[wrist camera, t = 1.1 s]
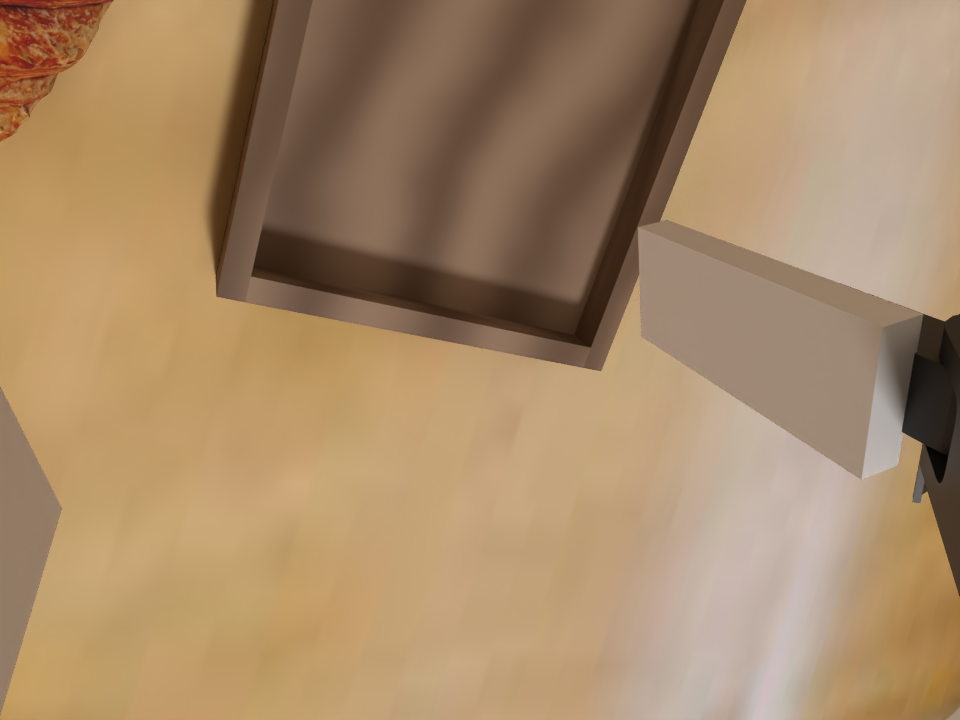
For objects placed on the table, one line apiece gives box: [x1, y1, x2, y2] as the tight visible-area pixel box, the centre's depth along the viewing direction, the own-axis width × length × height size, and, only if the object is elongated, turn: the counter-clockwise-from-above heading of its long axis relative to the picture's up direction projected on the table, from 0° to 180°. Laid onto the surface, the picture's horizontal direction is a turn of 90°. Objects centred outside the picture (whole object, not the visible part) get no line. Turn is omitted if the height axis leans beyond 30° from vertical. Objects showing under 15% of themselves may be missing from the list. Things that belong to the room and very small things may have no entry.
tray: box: [216, 0, 746, 371], centre depth 32 cm, size 20×29×3 cm
